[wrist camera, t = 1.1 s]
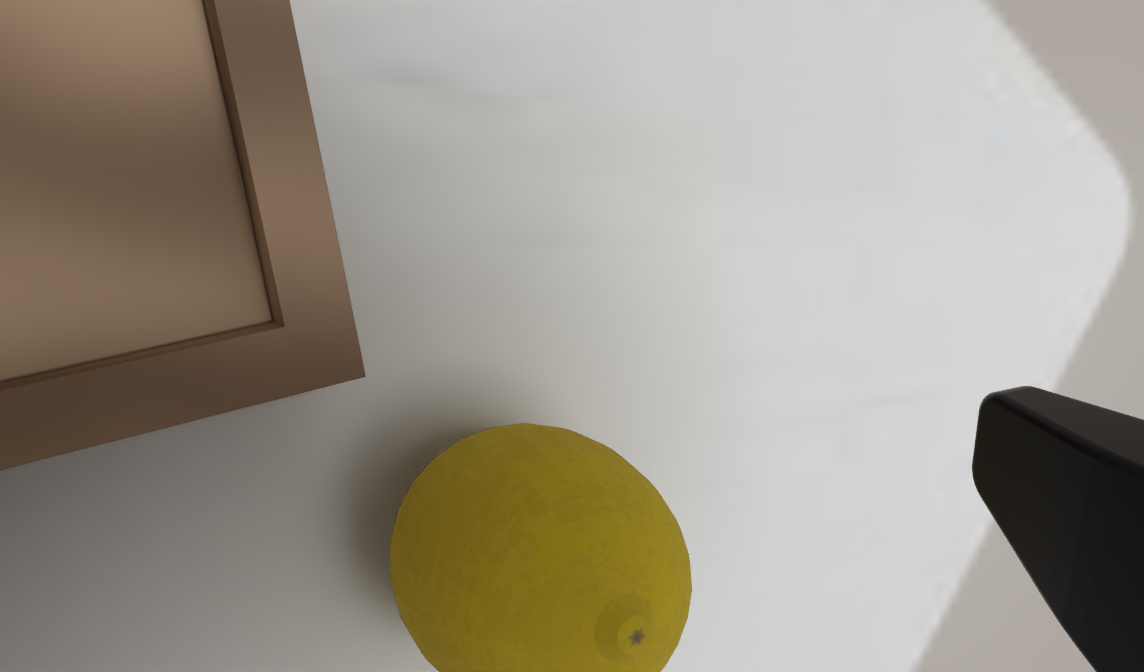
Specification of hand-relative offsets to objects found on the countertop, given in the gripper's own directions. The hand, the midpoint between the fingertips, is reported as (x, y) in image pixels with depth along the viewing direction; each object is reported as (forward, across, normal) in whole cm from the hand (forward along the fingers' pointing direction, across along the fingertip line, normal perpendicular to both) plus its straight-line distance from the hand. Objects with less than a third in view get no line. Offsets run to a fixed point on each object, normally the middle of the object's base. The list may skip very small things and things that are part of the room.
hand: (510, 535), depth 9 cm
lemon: (+13, 0, +9) cm, 16 cm away
